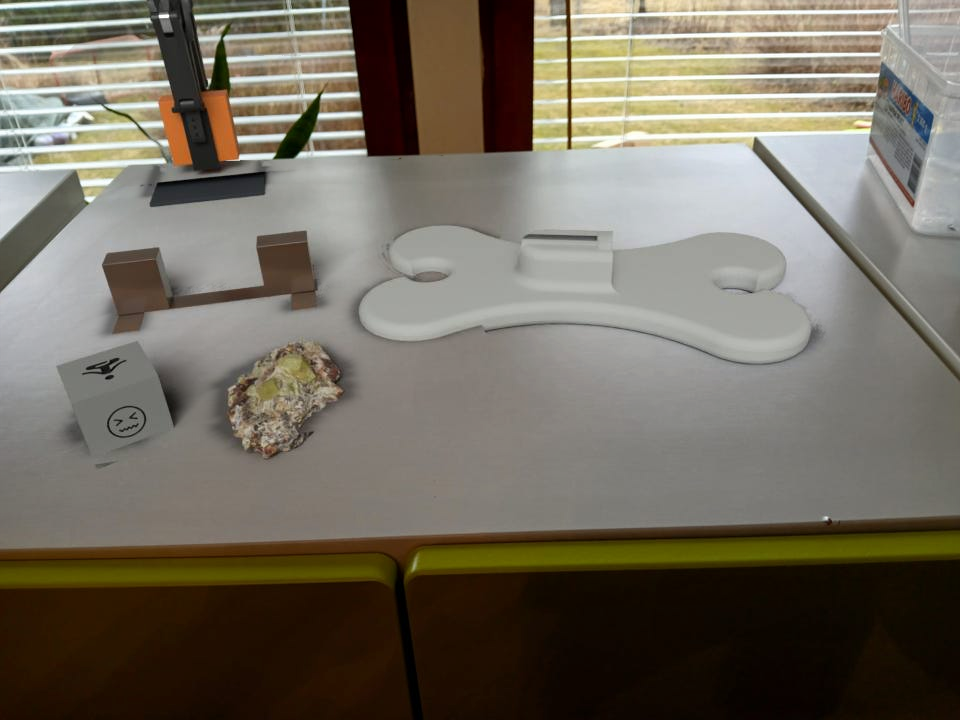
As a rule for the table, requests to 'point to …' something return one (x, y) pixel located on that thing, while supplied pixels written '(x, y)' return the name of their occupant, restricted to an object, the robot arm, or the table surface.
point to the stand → (147, 289)
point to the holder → (593, 289)
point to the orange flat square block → (219, 123)
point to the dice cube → (115, 398)
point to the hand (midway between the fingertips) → (208, 163)
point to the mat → (208, 188)
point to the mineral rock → (282, 397)
